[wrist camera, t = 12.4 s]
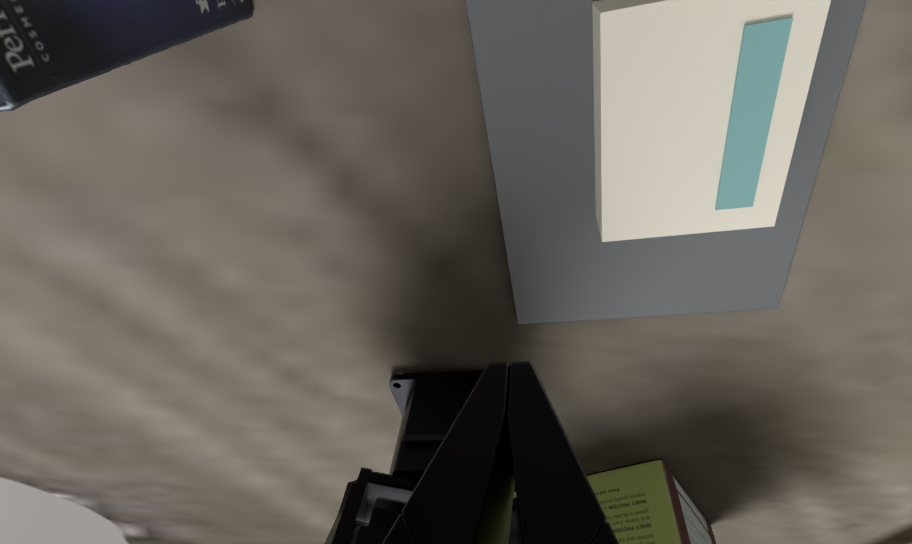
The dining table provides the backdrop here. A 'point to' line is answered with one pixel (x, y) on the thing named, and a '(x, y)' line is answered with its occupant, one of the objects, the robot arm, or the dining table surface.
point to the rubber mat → (573, 177)
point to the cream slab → (697, 111)
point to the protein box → (649, 506)
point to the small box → (94, 38)
